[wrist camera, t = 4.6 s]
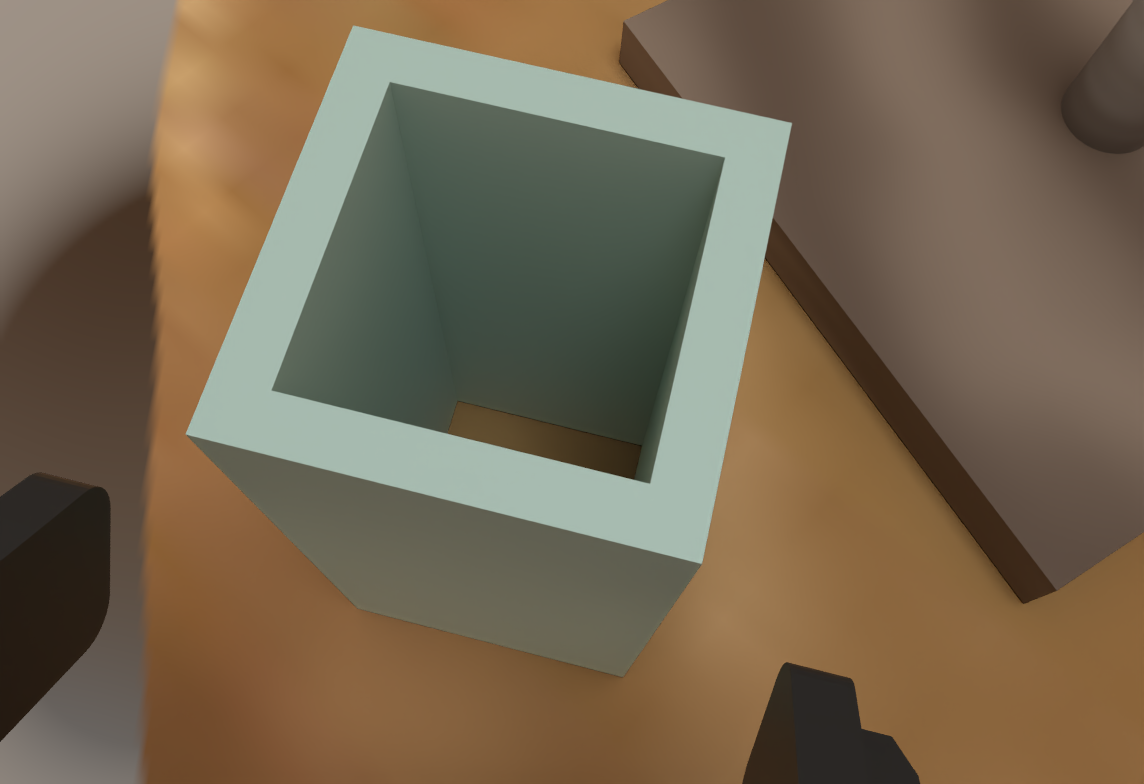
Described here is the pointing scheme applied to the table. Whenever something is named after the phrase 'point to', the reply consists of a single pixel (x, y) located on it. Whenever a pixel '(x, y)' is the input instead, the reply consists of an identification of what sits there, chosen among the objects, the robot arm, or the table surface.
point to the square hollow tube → (498, 342)
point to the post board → (958, 236)
